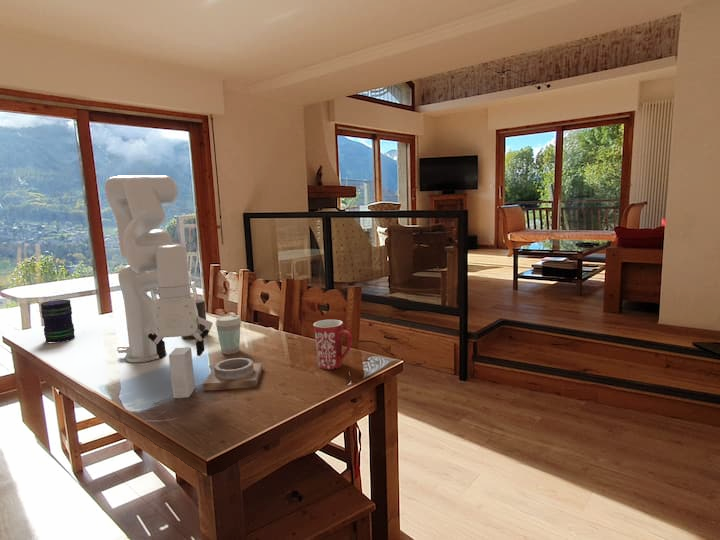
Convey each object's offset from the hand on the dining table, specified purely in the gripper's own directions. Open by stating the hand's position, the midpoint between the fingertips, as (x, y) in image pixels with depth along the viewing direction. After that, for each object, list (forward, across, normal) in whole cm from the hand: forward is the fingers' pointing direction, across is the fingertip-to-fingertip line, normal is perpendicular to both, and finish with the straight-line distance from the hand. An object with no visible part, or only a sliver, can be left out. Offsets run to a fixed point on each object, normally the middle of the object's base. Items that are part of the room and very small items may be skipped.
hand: (181, 355), depth 120 cm
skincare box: (+11, 0, +1) cm, 11 cm away
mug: (+11, +40, +14) cm, 44 cm away
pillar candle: (+10, -12, +58) cm, 60 cm away
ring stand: (+11, +12, +9) cm, 18 cm away
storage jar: (+9, -65, +63) cm, 91 cm away
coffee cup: (+10, +6, +35) cm, 37 cm away
